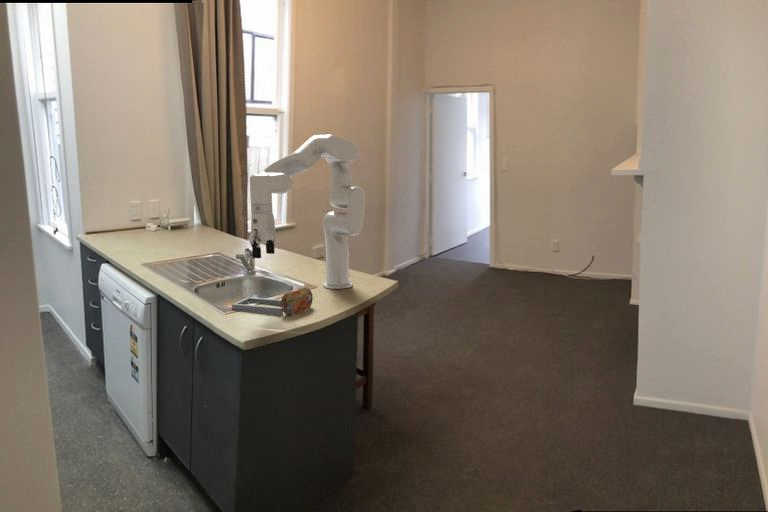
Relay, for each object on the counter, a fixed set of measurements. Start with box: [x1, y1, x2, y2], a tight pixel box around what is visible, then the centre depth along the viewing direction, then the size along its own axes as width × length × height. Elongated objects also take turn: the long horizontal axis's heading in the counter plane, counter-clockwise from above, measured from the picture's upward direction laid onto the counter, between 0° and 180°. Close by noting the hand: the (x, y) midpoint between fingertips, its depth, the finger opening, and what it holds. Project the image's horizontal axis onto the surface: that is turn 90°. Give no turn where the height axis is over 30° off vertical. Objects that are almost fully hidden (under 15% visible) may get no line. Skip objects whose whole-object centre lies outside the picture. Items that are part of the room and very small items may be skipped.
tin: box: [280, 287, 314, 316], centre depth 212 cm, size 15×3×8 cm, turn 148°
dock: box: [231, 296, 284, 316], centre depth 216 cm, size 11×20×2 cm, turn 72°
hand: (263, 255), depth 213 cm, fingers open, 9 cm apart
